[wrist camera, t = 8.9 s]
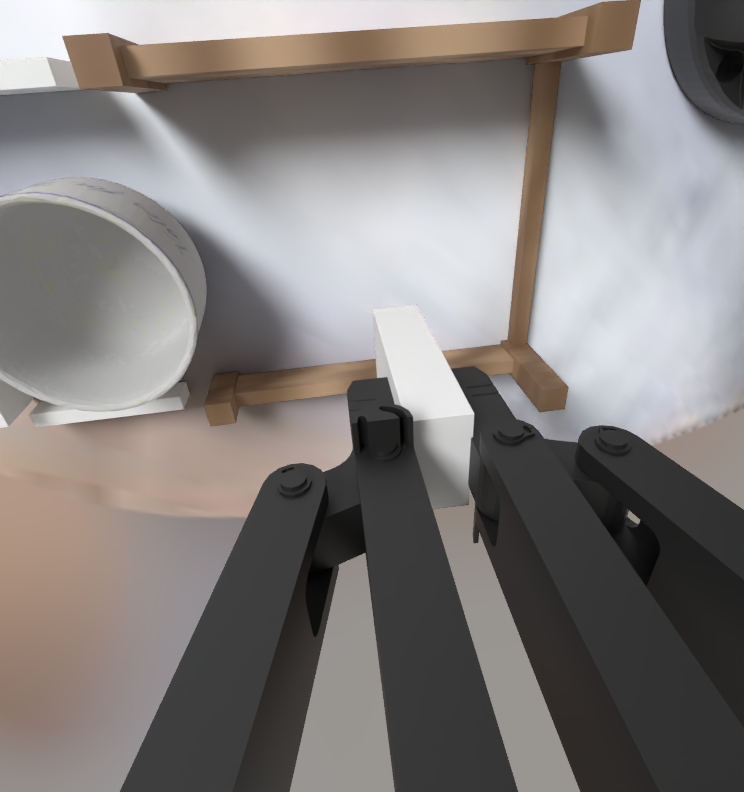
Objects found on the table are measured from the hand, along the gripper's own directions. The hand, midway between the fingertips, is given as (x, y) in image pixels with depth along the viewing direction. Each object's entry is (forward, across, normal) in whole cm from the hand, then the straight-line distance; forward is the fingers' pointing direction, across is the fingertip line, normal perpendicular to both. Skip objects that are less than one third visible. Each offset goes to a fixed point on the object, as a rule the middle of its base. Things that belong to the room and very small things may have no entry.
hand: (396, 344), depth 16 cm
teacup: (+15, +16, 0) cm, 22 cm away
